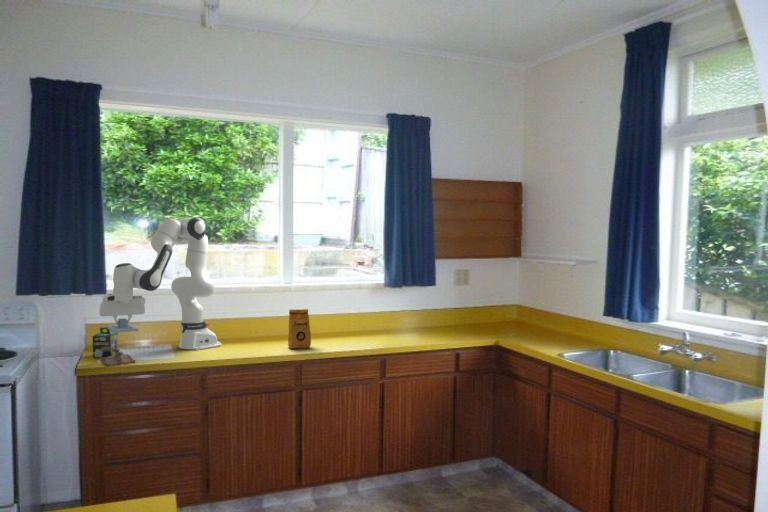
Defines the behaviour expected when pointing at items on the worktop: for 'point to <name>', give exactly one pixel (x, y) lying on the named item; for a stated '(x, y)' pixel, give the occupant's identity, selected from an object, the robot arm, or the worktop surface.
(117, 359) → the board
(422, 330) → the worktop surface
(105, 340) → the chalk box
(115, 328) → the panel
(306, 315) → the coffee package
